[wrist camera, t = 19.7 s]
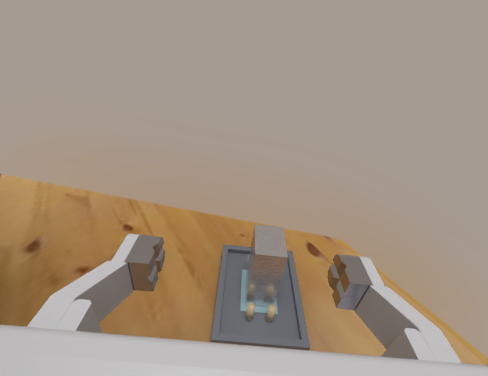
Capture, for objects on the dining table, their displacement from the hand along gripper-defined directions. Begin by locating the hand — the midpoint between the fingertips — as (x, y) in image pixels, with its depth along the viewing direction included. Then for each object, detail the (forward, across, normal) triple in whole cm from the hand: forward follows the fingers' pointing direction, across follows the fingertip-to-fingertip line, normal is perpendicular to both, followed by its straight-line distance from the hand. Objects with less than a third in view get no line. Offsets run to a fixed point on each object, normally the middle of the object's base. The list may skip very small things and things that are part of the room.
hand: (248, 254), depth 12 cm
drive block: (+18, -5, +28) cm, 34 cm away
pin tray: (+18, -5, +30) cm, 35 cm away
